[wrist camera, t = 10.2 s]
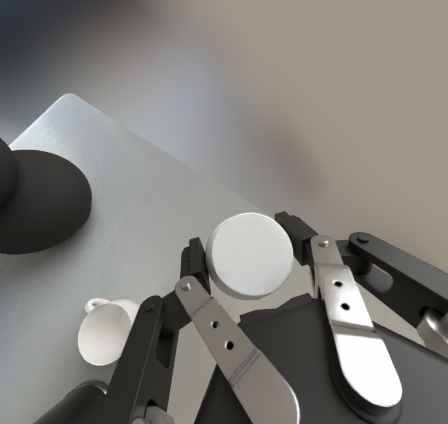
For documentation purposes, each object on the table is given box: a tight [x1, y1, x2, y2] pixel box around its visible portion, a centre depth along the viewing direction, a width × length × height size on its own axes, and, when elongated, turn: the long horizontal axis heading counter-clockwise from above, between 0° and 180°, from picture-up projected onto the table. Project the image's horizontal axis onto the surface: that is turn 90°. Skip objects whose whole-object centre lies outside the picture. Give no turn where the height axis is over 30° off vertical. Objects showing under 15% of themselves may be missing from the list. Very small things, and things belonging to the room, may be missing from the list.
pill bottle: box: [205, 213, 293, 300], centre depth 15 cm, size 6×6×11 cm
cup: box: [78, 298, 140, 366], centre depth 27 cm, size 8×10×7 cm
